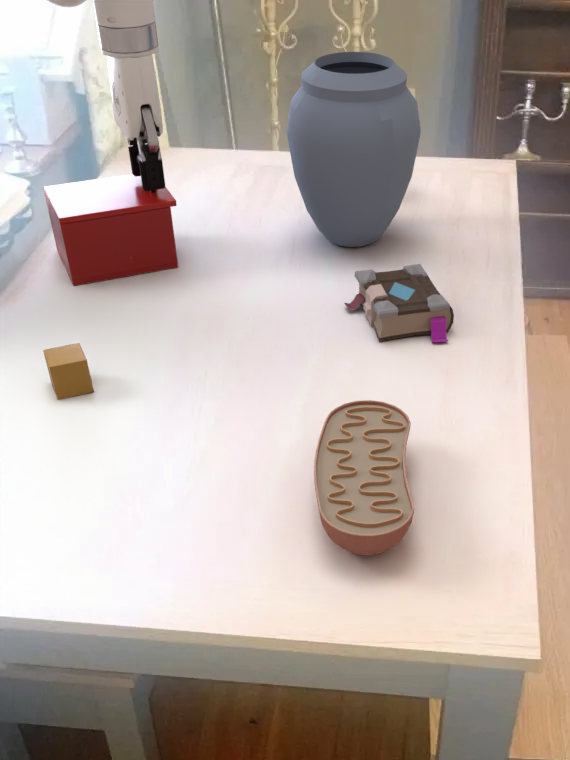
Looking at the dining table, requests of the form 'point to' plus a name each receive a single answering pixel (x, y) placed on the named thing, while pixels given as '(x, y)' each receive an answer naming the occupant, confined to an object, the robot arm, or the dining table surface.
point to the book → (403, 304)
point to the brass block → (68, 370)
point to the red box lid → (104, 197)
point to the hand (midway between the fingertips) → (148, 180)
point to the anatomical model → (364, 476)
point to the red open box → (115, 245)
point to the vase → (353, 144)
